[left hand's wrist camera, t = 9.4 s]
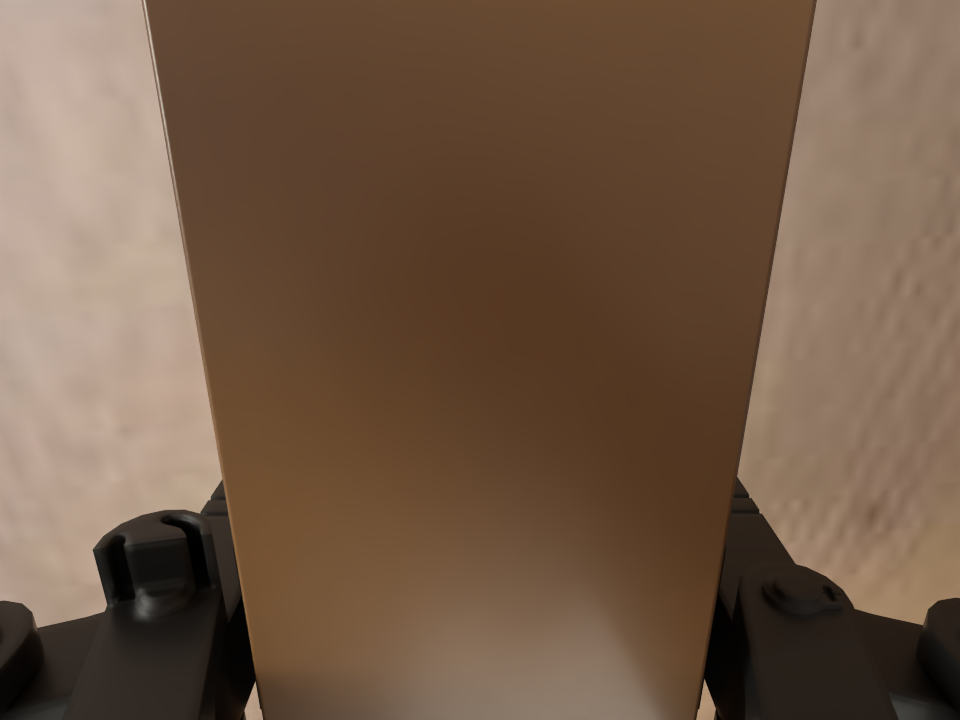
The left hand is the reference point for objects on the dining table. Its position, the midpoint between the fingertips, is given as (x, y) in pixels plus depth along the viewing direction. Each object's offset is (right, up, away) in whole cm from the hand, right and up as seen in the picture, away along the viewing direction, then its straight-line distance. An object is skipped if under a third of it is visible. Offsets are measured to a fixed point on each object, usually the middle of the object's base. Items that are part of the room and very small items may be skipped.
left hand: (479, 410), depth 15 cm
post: (0, +28, -11) cm, 30 cm away
